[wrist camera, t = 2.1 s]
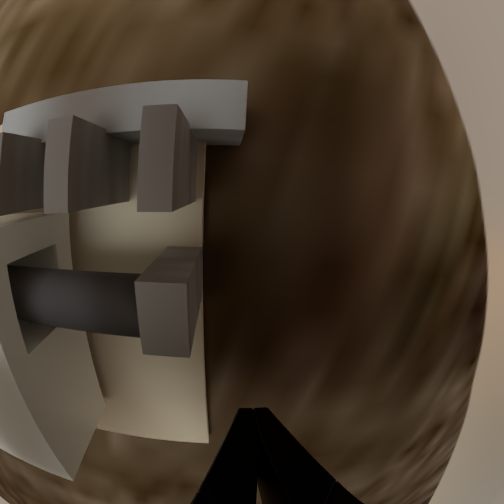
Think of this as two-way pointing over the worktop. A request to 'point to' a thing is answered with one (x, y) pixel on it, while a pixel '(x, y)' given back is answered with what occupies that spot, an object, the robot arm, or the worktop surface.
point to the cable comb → (125, 236)
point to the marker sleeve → (43, 359)
